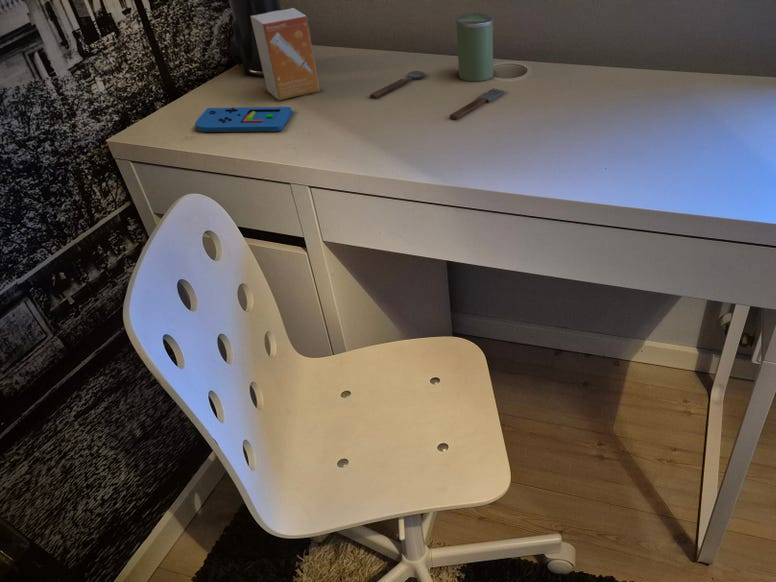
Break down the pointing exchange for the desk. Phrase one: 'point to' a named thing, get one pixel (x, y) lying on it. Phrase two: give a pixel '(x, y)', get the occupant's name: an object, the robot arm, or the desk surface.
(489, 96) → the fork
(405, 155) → the desk surface
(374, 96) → the spoon
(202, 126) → the handheld gaming device
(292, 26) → the small box
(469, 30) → the can
